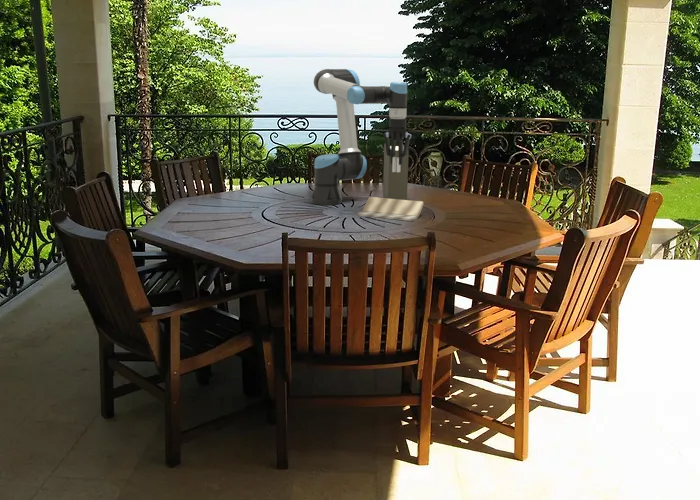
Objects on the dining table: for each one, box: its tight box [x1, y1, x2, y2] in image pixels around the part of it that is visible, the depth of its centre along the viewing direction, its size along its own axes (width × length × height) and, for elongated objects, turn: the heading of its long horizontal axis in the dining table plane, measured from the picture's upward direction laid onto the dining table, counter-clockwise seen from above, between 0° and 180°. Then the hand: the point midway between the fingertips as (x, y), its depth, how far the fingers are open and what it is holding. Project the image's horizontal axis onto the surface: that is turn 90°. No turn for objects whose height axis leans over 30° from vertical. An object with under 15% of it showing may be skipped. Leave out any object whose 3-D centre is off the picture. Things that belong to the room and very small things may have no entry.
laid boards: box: [356, 210, 418, 222], centre depth 292 cm, size 26×6×2 cm, turn 65°
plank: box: [362, 196, 425, 219], centre depth 298 cm, size 26×9×2 cm
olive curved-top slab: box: [382, 143, 410, 200], centre depth 327 cm, size 22×9×28 cm, turn 3°
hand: (396, 171), depth 297 cm, fingers closed
